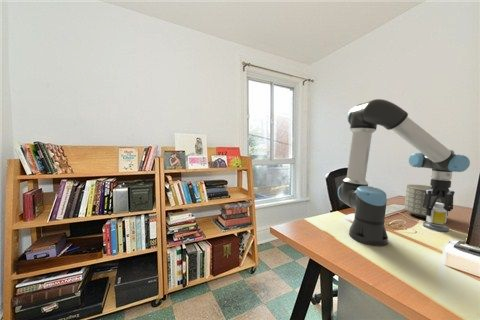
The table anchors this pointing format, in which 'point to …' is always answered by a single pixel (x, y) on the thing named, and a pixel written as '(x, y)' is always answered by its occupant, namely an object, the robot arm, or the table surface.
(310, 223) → the table surface
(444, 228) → the coaster
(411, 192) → the planter
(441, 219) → the pill bottle
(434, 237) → the table surface
